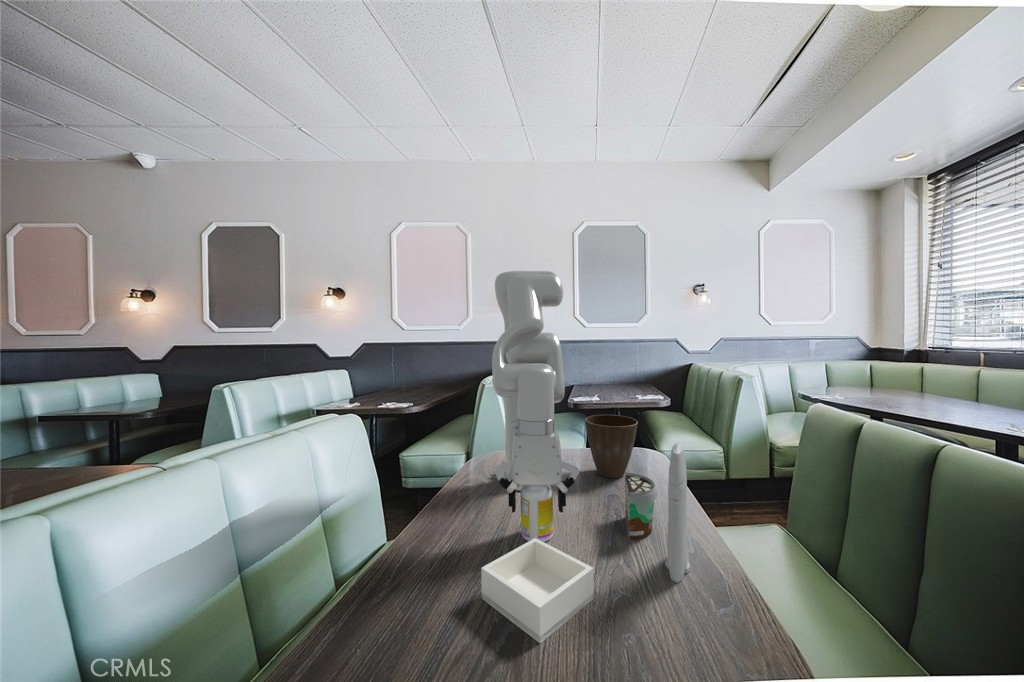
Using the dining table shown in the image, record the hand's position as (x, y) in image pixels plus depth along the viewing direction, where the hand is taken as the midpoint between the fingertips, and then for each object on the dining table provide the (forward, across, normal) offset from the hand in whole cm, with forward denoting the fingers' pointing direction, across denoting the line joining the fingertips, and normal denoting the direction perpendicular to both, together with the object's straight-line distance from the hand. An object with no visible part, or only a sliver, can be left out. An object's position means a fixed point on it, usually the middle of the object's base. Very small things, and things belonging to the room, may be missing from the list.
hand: (537, 509), depth 81 cm
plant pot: (+5, +23, +35) cm, 43 cm away
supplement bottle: (+6, 0, +1) cm, 6 cm away
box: (+6, -1, -18) cm, 19 cm away
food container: (+6, +23, +4) cm, 24 cm away
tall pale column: (+6, +25, -10) cm, 27 cm away
